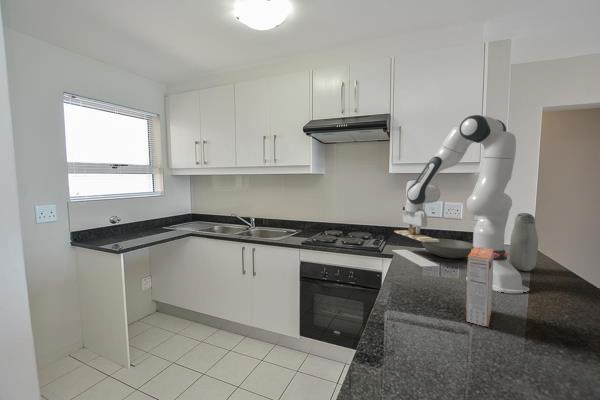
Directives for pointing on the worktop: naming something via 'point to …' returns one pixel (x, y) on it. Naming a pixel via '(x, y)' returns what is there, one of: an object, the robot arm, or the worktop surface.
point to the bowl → (449, 248)
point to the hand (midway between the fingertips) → (414, 232)
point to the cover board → (416, 235)
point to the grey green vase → (524, 243)
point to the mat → (415, 258)
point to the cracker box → (479, 286)
